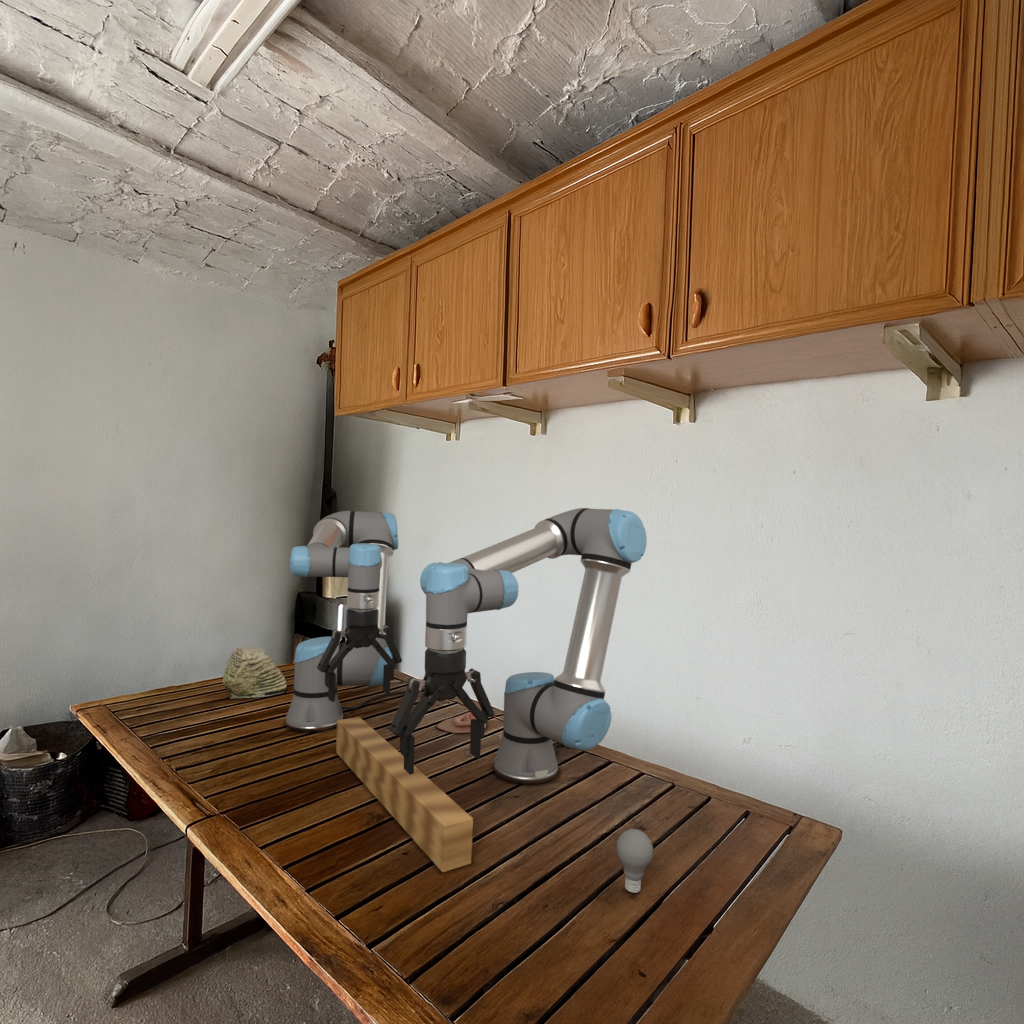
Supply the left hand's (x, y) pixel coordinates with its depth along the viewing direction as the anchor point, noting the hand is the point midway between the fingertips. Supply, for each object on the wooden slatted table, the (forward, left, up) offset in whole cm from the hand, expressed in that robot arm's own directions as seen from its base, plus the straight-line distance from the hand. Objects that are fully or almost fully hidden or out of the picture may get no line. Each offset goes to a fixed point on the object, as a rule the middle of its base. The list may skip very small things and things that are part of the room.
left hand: (359, 696), depth 152 cm
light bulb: (+1, +74, -16) cm, 76 cm away
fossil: (-8, -62, -16) cm, 65 cm away
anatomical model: (-35, +2, -16) cm, 38 cm away
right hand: (+13, +41, 0) cm, 43 cm away
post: (+7, +21, -16) cm, 27 cm away
